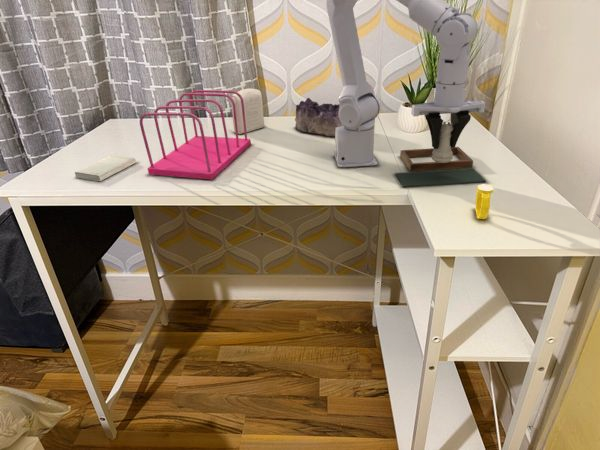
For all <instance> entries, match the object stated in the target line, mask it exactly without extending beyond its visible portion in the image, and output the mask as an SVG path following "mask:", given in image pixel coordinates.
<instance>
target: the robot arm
mask: <svg viewBox="0 0 600 450" xmlns="http://www.w3.org/2000/svg"><path fill="white" fill-rule="evenodd" d="M358 1H359V0H326V9H327V15H328V20H329V25H330V30H331V35H332V39H333V44H334V49H335V54H336V58H337V59H336V60H337V63H338V68H339V74H340V79H341V84H342V90H341V91H340V94H339V97H338V104H339V105H340V107H339V113H338V115H339V120H340V122H341V123H342V125H343V126H342V127H337V128H336V129H335V136H334V143H335V144H334V158H335V161H336V164H337V167H338V168H352V167H355V168H356V167H369V166H372V167H373V166H378V161H377V160H376V157H375V156H374V149H375V125H376V124H375V123H376V118H377V117H378V116H379V115H380V112H381V103H380V101H379V100H380V99H378V97H377V95H376V94H375V89H374V87H373V86H372V85H371V84H370V83H369V82H368V81H367V78H366V77H367V76H366V71H365V65H364V61H363V56H362V50H361V44H360V39H359V34H358V28H357V24H356V18H355V12H354V7H355V5H356V4H357V2H358ZM396 1H397V2H398V3H399V4H401V5H402V6H405V7H406V8H407V9H408V17H409V18H410V20H411V21H413V22H414V23H416V24H417V25H418V26H420V27H421V28H422V29H424V30H425V31H427V32H428V33H429V34H430V35H431V36H434V37H435V40H436V43H437V45H438V47H439V57H438V64H437V70H436V71H437V73H436V82H435V90H434V99H433V100H434V101H429V102H424V103H423V102H422V103H418V104H417V103H416V104H411V113H410V114H411V115H412V116H413V117H419V116H424V118H425V120H426V123H427V125H428V129H429V134H430V138H431V139H430V140H431V148H434V149H438V147H439V138H440V131H441V127H442V124H443V122H444V120H443V119H442V116H441V115H445V114H446V115H449V114H450V123H452V126H453V128H454V129H453V130H452V131H451V135H452V136H451V137H450V147H451V148H455V147H457V143H458V140H459V139H460V136H461V134H462V133H463V131H464V129H465V127H466V126H467V125H468V123H470V121H471V118H472V115H471V114H470V113H485V107H486V102H484V101H483V100H465V96H466V87H467V82H468V81H467V80H468V74H469V66H470V59H471V50H472V42H473V41H474V40H475V38H476V37H477V34H478V29H479V27H478V22H477V20H476V19H475V18H474V17H473V16H472V15H473V14H471V13H469V12H461V13H460V10H461V8H460V7H458V6H457V5H455V6H452V5H451V4H449V3H448V2H447V1H446V0H396Z"/></svg>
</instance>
